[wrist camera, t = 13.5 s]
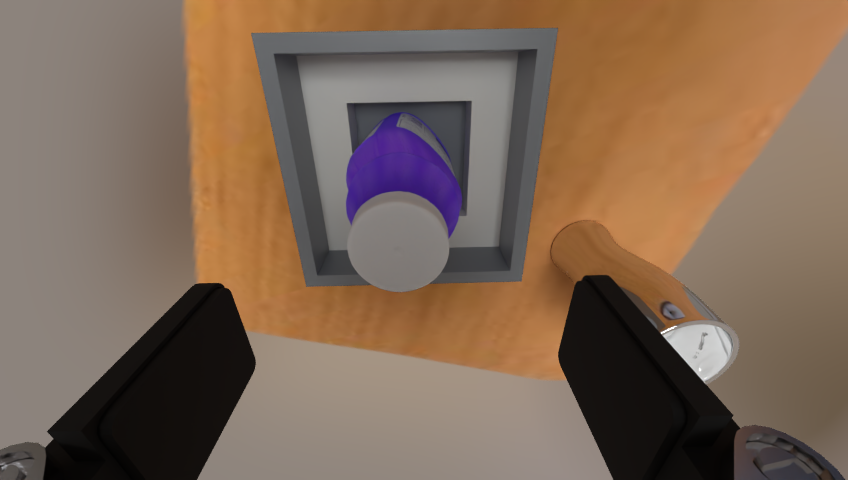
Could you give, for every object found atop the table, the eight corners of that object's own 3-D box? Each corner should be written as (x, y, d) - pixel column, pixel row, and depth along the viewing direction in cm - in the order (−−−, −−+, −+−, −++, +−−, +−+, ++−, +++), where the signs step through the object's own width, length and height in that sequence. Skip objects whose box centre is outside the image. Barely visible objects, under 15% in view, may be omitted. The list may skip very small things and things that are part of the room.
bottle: (355, 142, 28) (278, 235, 12) (404, 94, 26) (387, 131, 11) (412, 203, 31) (408, 342, 15) (461, 163, 29) (512, 272, 13)
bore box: (297, 42, 25) (251, 33, 18) (518, 39, 26) (558, 27, 18) (330, 239, 33) (306, 286, 26) (499, 236, 33) (521, 281, 26)
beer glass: (572, 205, 32) (683, 302, 19) (629, 231, 33) (769, 339, 20) (533, 261, 35) (604, 381, 22) (586, 283, 36) (684, 408, 23)
